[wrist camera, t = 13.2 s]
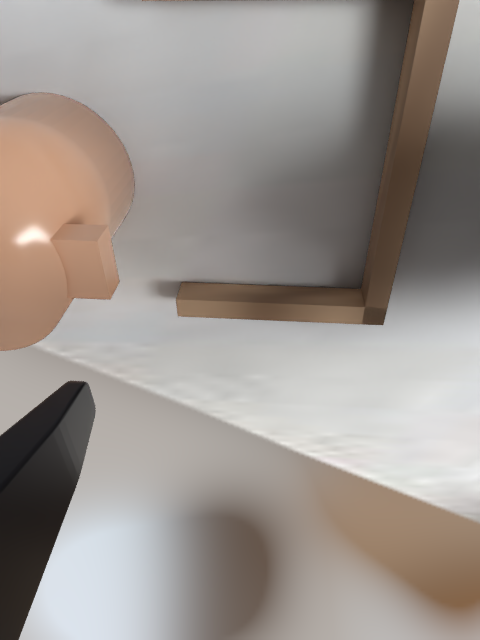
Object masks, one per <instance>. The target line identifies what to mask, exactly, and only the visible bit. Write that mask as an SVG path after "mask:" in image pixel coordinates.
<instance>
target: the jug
mask: <svg viewBox="0 0 480 640" xmlns="http://www.w3.org/2000/svg"><path fill="white" fill-rule="evenodd" d="M134 186H135V183H134V173H133V169H132V165H131V162H130V159H129V156H128V154H127V152H126V149H125V147H124V145H123V144H122V142H121V141H120V139H119V137H118V136H117V135H116V133H115V132H114V131H113V129H112V128H111V127H110V126H109V125H108V124H107V123H106V122H105V121H104V120H103V119H102V118H101V117H100V116H99V115H97V114H96V113H95V112H94V111H92V110H91V109H89V108H88V107H86V106H85V105H83V104H81V103H79V102H77V101H75V100H73V99H70V98H68V97H65V96H62V95H57V94H53V93H42V92H41V93H30V94H25V95H21V96H19V97H16V98H14V99H12V100H10V101H8V102H6V103H4V104H2V105H0V351H6V350H16V349H20V348H24V347H27V346H30V345H33V344H35V343H37V342H39V341H40V340H42V339H44V338H45V337H46V336H47V335H48V334H50V333H51V332H52V330H53V329H54V328H55V327H56V325H57V324H58V322H59V321H60V319H61V318H62V316H63V314H64V313H65V311H66V310H67V308H68V307H69V305H70V303H71V302H72V300H73V299H74V298H85V299H111V297H112V295H113V293H114V291H115V290H116V288H117V286H118V284H119V282H120V281H119V276H118V271H117V266H116V261H115V256H114V251H113V246H112V241H111V239H112V238H113V236H114V234H115V233H116V231H117V230H118V228H119V227H120V225H121V223H122V222H123V220H124V219H125V217H126V215H127V214H128V212H129V210H130V207H131V205H132V202H133V197H134Z"/></svg>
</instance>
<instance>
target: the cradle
mask: <svg viewBox="0 0 480 640" xmlns="http://www.w3.org/2000/svg"><path fill="white" fill-rule="evenodd" d="M142 1H191V0H142ZM458 4H459V0H414V5H413V10H412V15H411V21H410V26H409V32H408V37H407V42H406V48H405V53H404V59H403V64H402V69H401V75H400V80H399V86H398V91H397V96H396V102H395V107H394V113H393V118H392V123H391V129H390V134H389V140H388V145H387V150H386V156H385V161H384V167H383V172H382V177H381V183H380V188H379V194H378V199H377V204H376V210H375V215H374V221H373V226H372V231H371V237H370V242H369V248H368V253H367V258H366V264H365V269H364V275H363V280H362V285H361V289H349V288H323V287H297V286H270V285H244V284H218V283H191V282H182V283H181V286H180V289H179V292H178V295H177V298H176V304H177V313H178V316H182V317H206V318H229V319H252V320H275V321H298V322H322V323H345V324H368V325H383V324H384V319H385V315H386V311H387V307H388V302H389V298H390V294H391V290H392V285H393V281H394V277H395V273H396V268H397V264H398V260H399V256H400V251H401V247H402V243H403V239H404V234H405V230H406V226H407V222H408V217H409V213H410V209H411V204H412V200H413V196H414V192H415V187H416V183H417V179H418V175H419V170H420V166H421V162H422V158H423V153H424V149H425V145H426V141H427V136H428V132H429V128H430V124H431V119H432V115H433V111H434V107H435V102H436V98H437V94H438V89H439V85H440V81H441V77H442V72H443V68H444V64H445V60H446V55H447V51H448V47H449V43H450V38H451V34H452V30H453V26H454V21H455V17H456V13H457V9H458Z"/></svg>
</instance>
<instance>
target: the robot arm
mask: <svg viewBox="0 0 480 640" xmlns="http://www.w3.org/2000/svg"><path fill="white" fill-rule="evenodd" d="M94 418H95V404H94V400H93V397H92V394H91V390H90V387H89V385H88V383H87V382H84V381H68V382H67V383H65V384H64V385H63V386H61V387H60V388H59V389H58V390H57V391H55V392H54V393H53V394H52V395H50V396H49V397H48V398H46V399H45V400H44V401H43V402H42V403H40V404H39V405H38V406H37V407H35V408H34V409H33V410H32V411H30V412H29V413H28V414H27V415H25V416H24V417H23V418H22V419H20V420H19V421H18V422H17V423H16V424H14V425H13V426H12V427H11V428H9V429H8V430H7V431H6V432H4V433H3V434H2V435H1V436H0V640H19V637H20V634H21V632H22V629H23V626H24V624H25V621H26V618H27V616H28V613H29V610H30V608H31V605H32V603H33V600H34V597H35V595H36V592H37V589H38V586H39V584H40V581H41V579H42V576H43V573H44V571H45V568H46V565H47V562H48V560H49V557H50V554H51V552H52V549H53V547H54V544H55V541H56V539H57V536H58V533H59V531H60V528H61V525H62V523H63V520H64V517H65V515H66V512H67V509H68V507H69V504H70V501H71V499H72V496H73V493H74V491H75V488H76V485H77V482H78V479H79V476H80V473H81V469H82V465H83V461H84V457H85V453H86V449H87V446H88V442H89V437H90V433H91V430H92V426H93V422H94Z"/></svg>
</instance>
